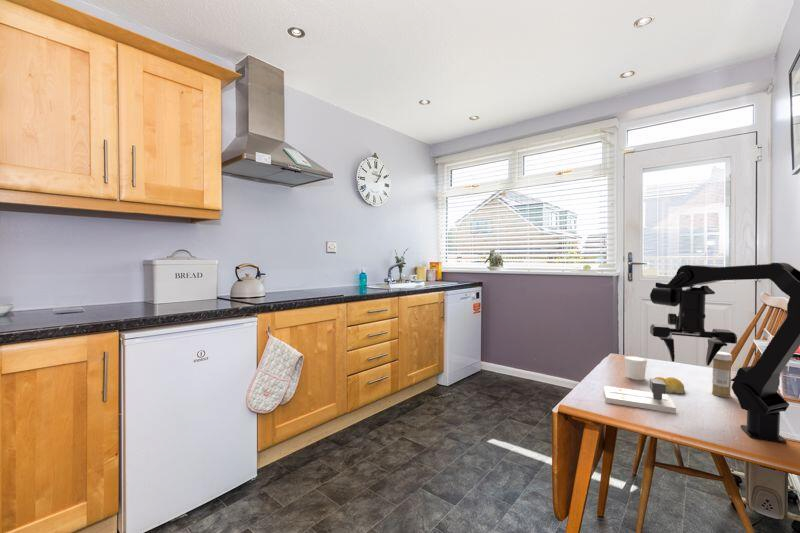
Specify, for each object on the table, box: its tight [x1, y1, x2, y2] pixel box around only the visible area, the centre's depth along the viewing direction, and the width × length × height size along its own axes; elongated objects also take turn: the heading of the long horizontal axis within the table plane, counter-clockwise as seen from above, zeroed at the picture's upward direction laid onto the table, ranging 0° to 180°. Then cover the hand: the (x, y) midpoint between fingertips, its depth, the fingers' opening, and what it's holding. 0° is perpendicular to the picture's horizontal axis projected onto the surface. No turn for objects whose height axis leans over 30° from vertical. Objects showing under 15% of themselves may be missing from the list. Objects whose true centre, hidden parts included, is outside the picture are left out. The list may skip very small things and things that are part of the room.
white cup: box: [624, 355, 648, 381], centre depth 132 cm, size 7×7×7 cm
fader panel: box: [603, 385, 677, 414], centre depth 111 cm, size 11×17×2 cm, turn 64°
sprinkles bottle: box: [711, 350, 733, 398], centre depth 115 cm, size 5×5×14 cm
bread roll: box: [653, 376, 686, 394], centre depth 121 cm, size 8×9×4 cm
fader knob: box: [649, 378, 667, 399], centre depth 108 cm, size 4×3×5 cm
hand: (689, 363), depth 105 cm, fingers open, 8 cm apart
